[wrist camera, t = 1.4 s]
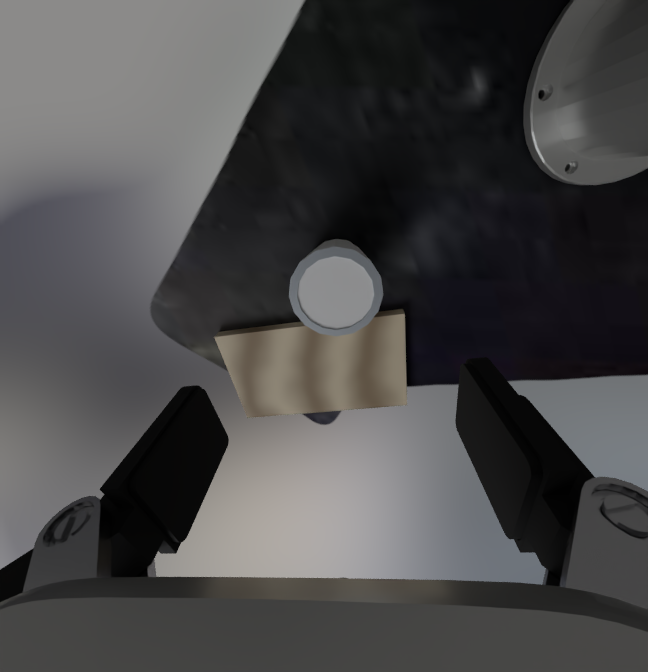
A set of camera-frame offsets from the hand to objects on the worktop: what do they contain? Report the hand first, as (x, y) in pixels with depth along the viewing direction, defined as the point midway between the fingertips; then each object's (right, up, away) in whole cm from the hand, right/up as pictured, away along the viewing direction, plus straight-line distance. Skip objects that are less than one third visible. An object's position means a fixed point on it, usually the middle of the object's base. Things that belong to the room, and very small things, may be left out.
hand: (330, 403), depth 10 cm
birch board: (-1, -1, +22) cm, 22 cm away
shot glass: (+1, +9, +16) cm, 18 cm away
